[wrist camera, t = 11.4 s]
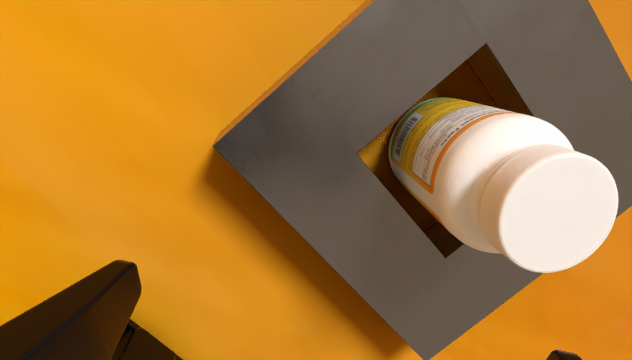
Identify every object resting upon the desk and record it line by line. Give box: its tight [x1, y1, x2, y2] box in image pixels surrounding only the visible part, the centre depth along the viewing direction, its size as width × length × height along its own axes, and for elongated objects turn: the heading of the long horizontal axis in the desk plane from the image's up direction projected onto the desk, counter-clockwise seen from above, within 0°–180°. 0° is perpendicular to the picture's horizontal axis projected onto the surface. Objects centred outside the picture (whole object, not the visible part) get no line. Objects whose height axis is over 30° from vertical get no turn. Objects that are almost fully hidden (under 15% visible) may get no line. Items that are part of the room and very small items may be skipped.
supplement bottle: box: [389, 97, 618, 273], centre depth 17 cm, size 5×5×10 cm
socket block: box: [213, 0, 632, 360], centre depth 20 cm, size 16×16×3 cm
